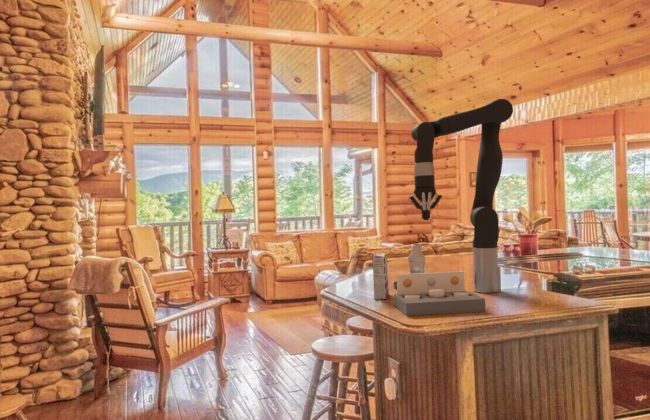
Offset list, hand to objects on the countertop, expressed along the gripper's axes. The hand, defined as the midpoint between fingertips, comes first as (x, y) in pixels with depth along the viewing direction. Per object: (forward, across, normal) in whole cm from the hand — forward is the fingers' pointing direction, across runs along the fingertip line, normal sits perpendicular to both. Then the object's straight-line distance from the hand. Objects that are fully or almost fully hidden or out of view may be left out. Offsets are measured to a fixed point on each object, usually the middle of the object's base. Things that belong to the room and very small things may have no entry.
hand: (425, 220), depth 184 cm
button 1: (+28, +12, +22) cm, 37 cm away
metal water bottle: (+29, +5, +3) cm, 30 cm away
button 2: (+28, -4, +22) cm, 36 cm away
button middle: (+26, +4, +22) cm, 34 cm away
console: (+29, +4, +23) cm, 37 cm away
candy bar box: (+29, +18, -2) cm, 34 cm away
